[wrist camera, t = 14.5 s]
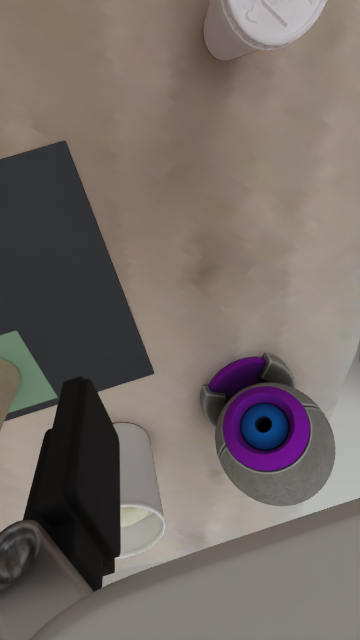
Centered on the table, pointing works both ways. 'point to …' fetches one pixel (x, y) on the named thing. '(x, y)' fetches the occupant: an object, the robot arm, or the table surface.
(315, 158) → the table surface
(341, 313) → the table surface
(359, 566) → the robot arm
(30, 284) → the desk pad
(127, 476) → the candle holder
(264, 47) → the smoothie
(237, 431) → the webcam
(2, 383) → the candle
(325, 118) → the table surface
